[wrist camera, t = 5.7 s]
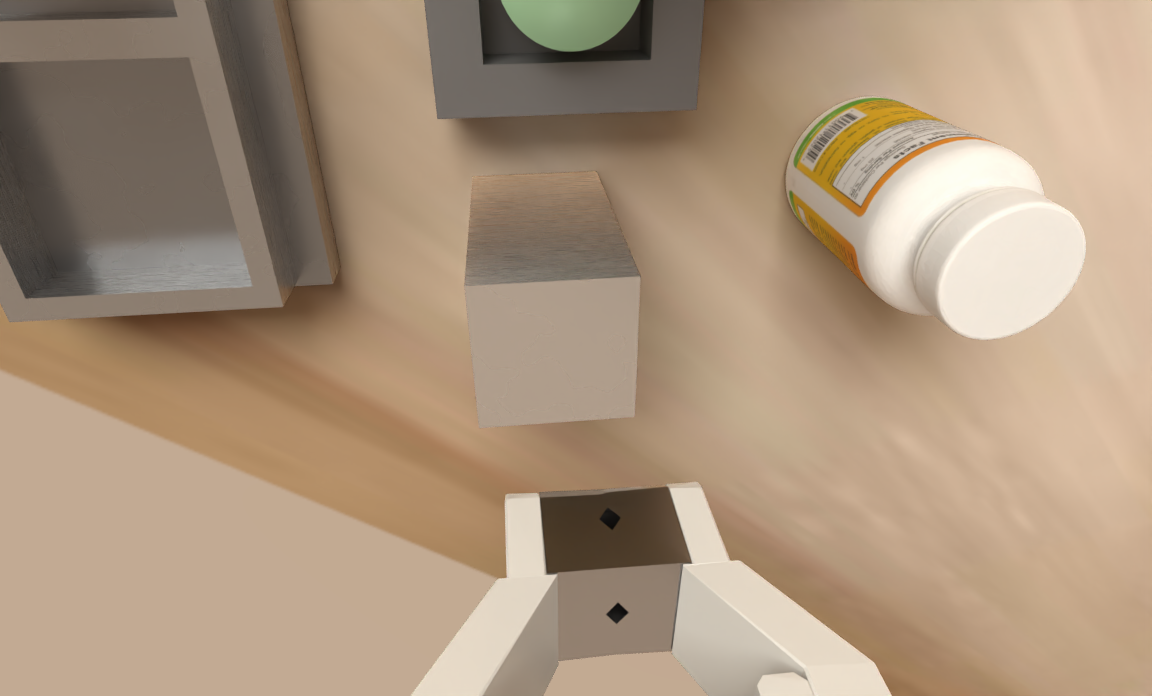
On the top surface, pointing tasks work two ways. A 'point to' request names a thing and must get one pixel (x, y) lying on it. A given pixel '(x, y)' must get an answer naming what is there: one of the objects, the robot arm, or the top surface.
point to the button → (570, 21)
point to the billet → (550, 301)
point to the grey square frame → (562, 63)
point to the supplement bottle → (934, 217)
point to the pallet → (155, 159)
